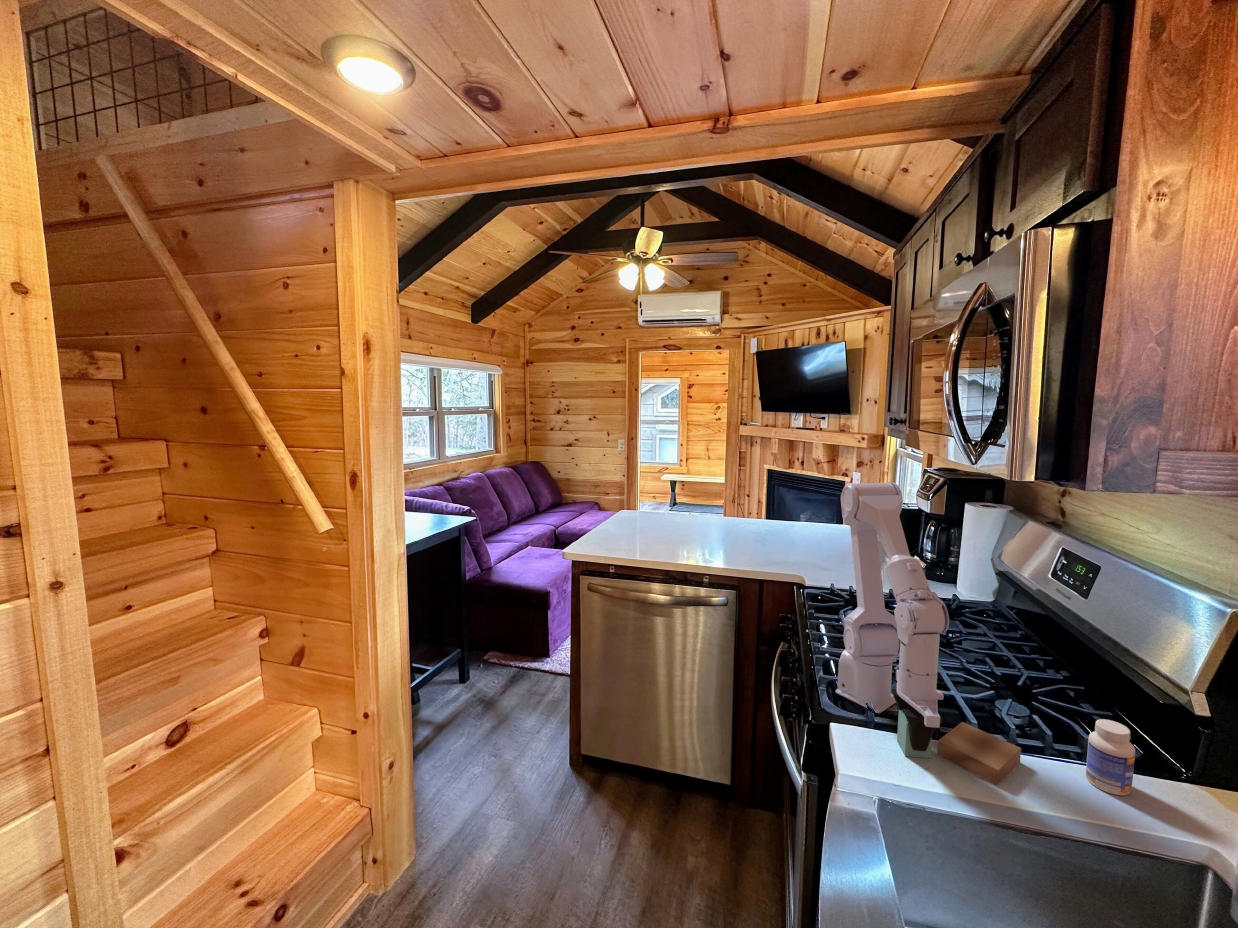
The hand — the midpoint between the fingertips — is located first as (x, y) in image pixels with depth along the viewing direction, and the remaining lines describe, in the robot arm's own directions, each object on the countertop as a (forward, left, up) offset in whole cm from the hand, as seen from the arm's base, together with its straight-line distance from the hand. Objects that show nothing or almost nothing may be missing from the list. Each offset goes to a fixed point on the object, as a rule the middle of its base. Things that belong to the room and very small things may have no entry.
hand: (913, 740), depth 93 cm
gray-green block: (0, 0, -2) cm, 2 cm away
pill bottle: (+22, +16, -2) cm, 27 cm away
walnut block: (+8, +6, -2) cm, 10 cm away
